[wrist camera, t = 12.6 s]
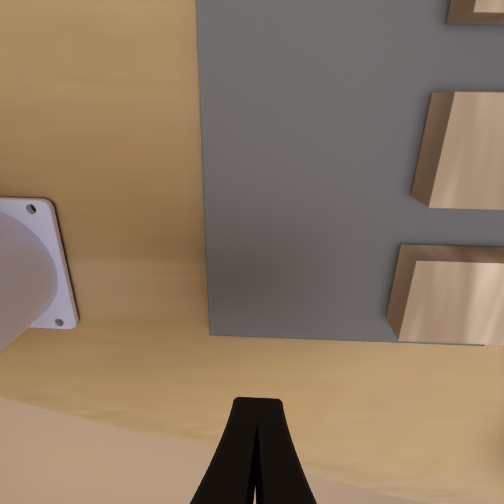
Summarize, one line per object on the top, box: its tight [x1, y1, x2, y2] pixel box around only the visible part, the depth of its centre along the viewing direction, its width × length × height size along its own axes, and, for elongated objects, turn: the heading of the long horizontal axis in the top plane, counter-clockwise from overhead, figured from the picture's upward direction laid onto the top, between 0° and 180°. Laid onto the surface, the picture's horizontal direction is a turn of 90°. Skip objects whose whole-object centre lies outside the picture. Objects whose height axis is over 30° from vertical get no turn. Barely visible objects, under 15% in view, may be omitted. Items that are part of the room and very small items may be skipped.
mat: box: [196, 0, 504, 346], centre depth 16 cm, size 16×22×1 cm
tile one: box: [386, 244, 504, 345], centre depth 18 cm, size 2×4×6 cm
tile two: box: [411, 92, 504, 210], centre depth 15 cm, size 2×4×6 cm
